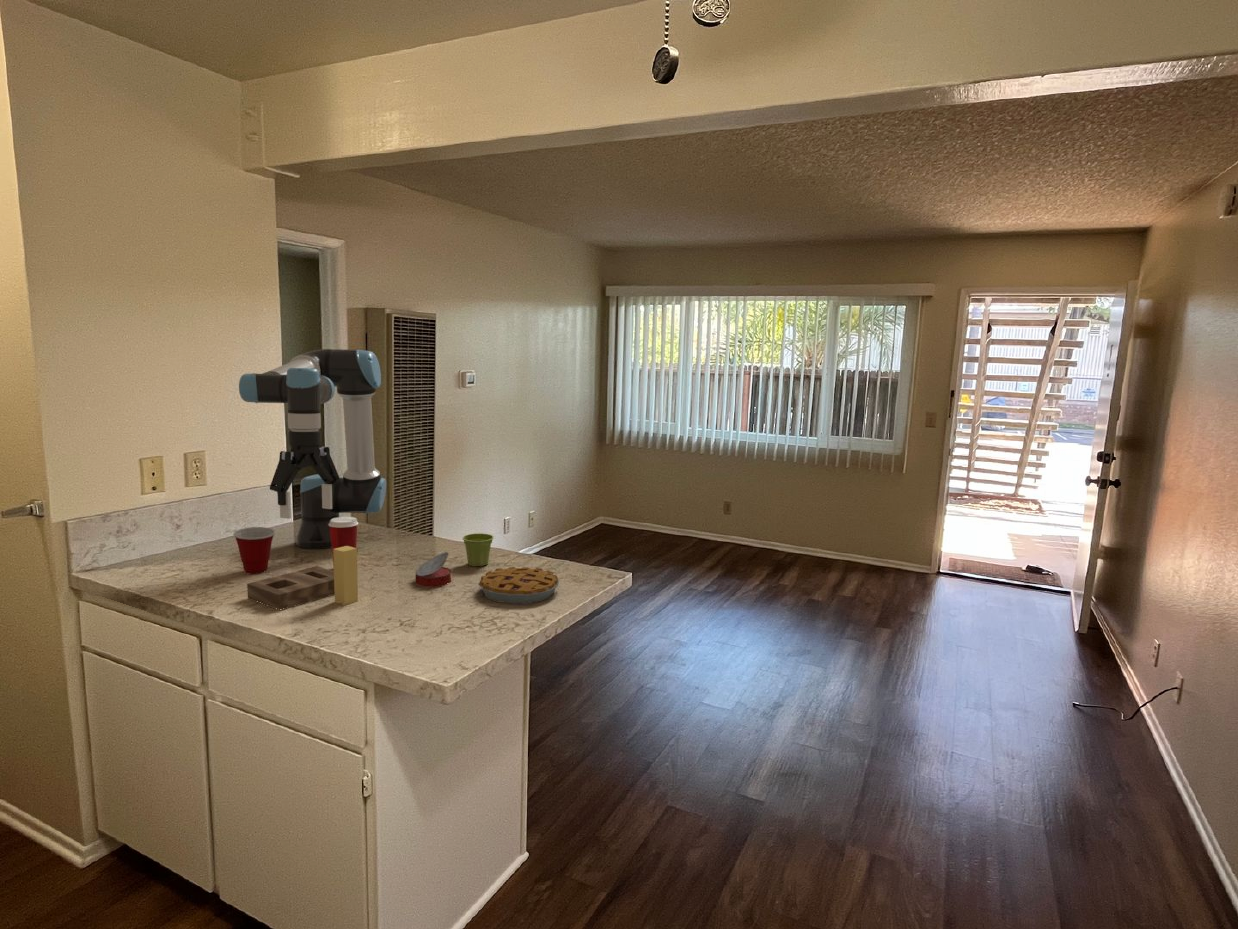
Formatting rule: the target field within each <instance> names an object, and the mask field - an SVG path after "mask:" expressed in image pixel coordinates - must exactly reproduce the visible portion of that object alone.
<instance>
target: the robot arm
mask: <svg viewBox="0 0 1238 929" xmlns="http://www.w3.org/2000/svg"><path fill="white" fill-rule="evenodd" d="M381 384H382V373H381V366H380V363H379V360H378V357H377V355H376V354H375V353H374V352H373V351H372V350H371V351H370V350H363V349H339V348H338V349H330V348H322V349H315V350H311V351H307V352H304V353H301V354H299V355H296V356H294V357H292V358H291V359H290V360H289V362H288V363H284V364H283V365H280V366H278V367H275V368H273V369H270V370H268V371H266V372H263V373H255V372H253V373H244V374H242V375H241V376H240V379H239V381H238V391H239V395H240V398H241V400H243V402H245V403H255V404H258V403H259V404H260V403H261V404H263V403H264V404H287V426H288V427H287V428H288V429H289V431H288V445H289V446H290V451H285V450H280V452H279V460H278V463H277V465H276V469H275V472H274V475H273V477H272V480H271V482H270V485H269V490H270V491H272V492H273V491H274V492H276V494H277V506H279V518H280V519H286V520H287V519H288V520H289V519H292V512H291V510H292V509H291V508H292V507H291V491H288V490H289V488H290V487H291V485H292V483H293V482H294V480H295V478H296V477H297V475H298V473H299V472H300V471H301V470H302V469H303V468H308V467H311V468H313V469H314V471H315V472H316V473H317V474H312V475H308V476H304V477H303V478H302V479H301V481H300V490H299V493H300V511H301V512H300V513H301V514H300V515H301V516H300V517H301V522H300V525H299V529H298V531H297V535H296V538H295V541H296V546H297V547H299V548H302V549H310V550H312V549H313V550H315V549H329V548H332V545H331V534H330V526H329V525H328V524H329V523H330V521H331V519H333V518H338V517H340V513H341V514H346V513H347V514H351V513H352V514H375V513H379V512H380V511H381V510H382V508H383V506H384V502H385V499H386V495H387V494H386V493H387V479H386V478H384V477H381V472H380V470H379V469H377V468H376V462H375V445H374V425H373V423H374V422H373V407H372V406H373V405H372V397H373V396H374V395H375V394H376V393H377V388H380V387H381ZM335 387H336V388H335ZM335 392H336V394H337V395H339V397H341V398H342V406H343V407H342V408H343V410H342V411H343V422H344V423H343V424H344V439H345V451H346V452H345V454H346V466H347V467H346V468H347V469H346V470H345V471H344V472H343V473H342V477H340V475H339V473H338V469H337V468H336V466H335V464H334V461H333V459H332V457H331V456H332V455H331V453H330V452H331V451H330V447H329V446H321V445H322V432H321V430H320V429H321V428H322V417H321V415H322V414H321V405H323V404H326V403H327V402H329V401H331V400H332V399H333V397H334V395H335Z"/></svg>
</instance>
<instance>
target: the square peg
mask: <svg viewBox="0 0 1238 929" xmlns="http://www.w3.org/2000/svg"><path fill="white" fill-rule="evenodd" d="M333 555H334V566H333V571H334V591H335V594H334V603H337V602H338V604H340V605H344V606H345V605H349V604H352V602H353V603H356V602H358V601H359V591H358V590H359V589H358V588H359V587H358V582H359V581H358V547H356V548H353V547H350V546H344V547H339V548H335V549H333ZM355 601H356V602H355Z"/></svg>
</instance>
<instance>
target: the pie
mask: <svg viewBox="0 0 1238 929" xmlns="http://www.w3.org/2000/svg"><path fill="white" fill-rule="evenodd" d="M559 583H560V579H559V578H558V576H557V575H556V574H554V573H553V571H550V570H546V571H545V570H543V569H542V568H539V567H536V568H535V569H534V568H530V567H527V566H526V567H525V566H523V567H521V568H519V567H515V566H512V567H508V568H496V569H495V571H492V570H489V571H487V572H486V573H485V575H482V576H481V578H480V580H479V582H478V585H479V587H480V588H481V590H482V591H483V594H484V595H485V597H486V598H487V599H488V600H492V601H494V602H497V601H499V602H498V603H504V602H505V603H506V604H518V603H526V604H533V603H532V602H535V603H539V602H538V601H540V602H542V601H545V600H548V598H550V597H551V596H552V595H553V594H554V592H555V591H556V588H557V587H559V585H560V584H559ZM549 596H550V597H549Z"/></svg>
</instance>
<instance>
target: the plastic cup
mask: <svg viewBox="0 0 1238 929" xmlns="http://www.w3.org/2000/svg"><path fill="white" fill-rule="evenodd" d="M275 534H276V530H275V529H273V528H270V527H266V526H251V527H250V526H249V527H243V528H240V529H237V530H235V531H234V532H233V534H232V535H233V536H234V538H235V541H236V544H237V547H238V551H239V556H240V560H241V563H242V566H243V571H244V573H245V572H246V573H245V574H247V573H250V574H249V575H256V574H255V573H258V574H262V573H261V572H263V573H265V572H267V571H266V570H268V568H269V561H270V555H271V548H272V542H273V538H274V536H275ZM264 571H265V572H264Z"/></svg>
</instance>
